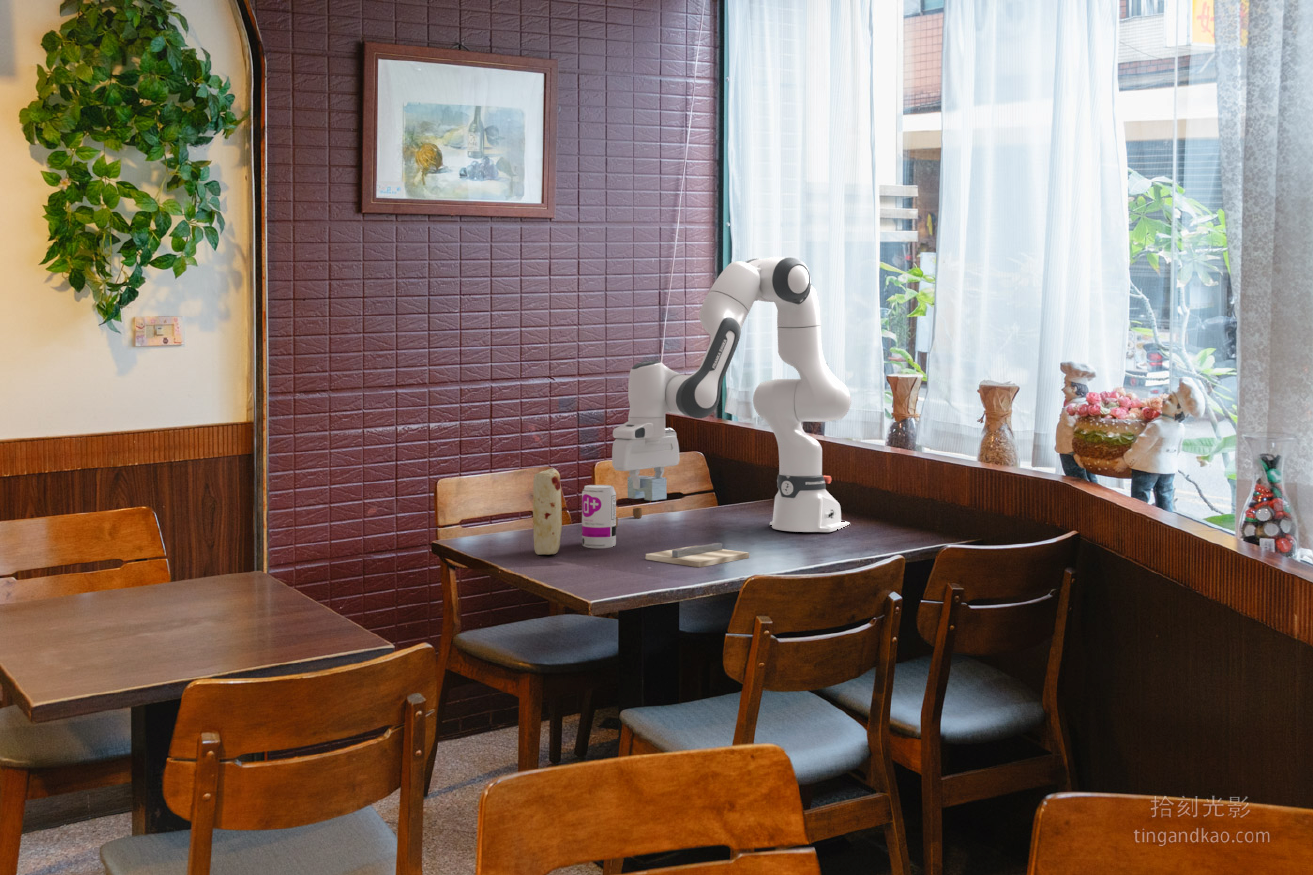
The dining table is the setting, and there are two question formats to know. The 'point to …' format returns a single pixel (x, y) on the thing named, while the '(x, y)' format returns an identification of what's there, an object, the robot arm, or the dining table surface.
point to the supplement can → (598, 516)
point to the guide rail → (696, 550)
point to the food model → (547, 512)
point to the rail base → (698, 557)
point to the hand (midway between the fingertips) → (647, 487)
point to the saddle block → (649, 488)
